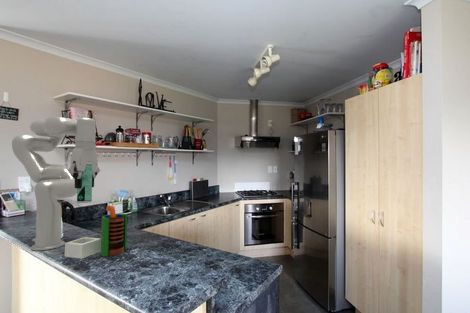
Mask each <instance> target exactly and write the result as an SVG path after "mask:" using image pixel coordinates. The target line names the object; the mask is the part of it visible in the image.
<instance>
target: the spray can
mask: <svg viewBox="0 0 470 313" xmlns="http://www.w3.org/2000/svg"><path fill="white" fill-rule="evenodd" d="M80 179H82V188H77V194H76V203H77V204H85V203H92V200H93V199H92V197H93V195H92V193H93V187H92V163H91V162H88V163H87V164H86V168H85V171H84V172H82V175H81V178H80Z"/></svg>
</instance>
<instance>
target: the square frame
mask: <svg viewBox="0 0 470 313" xmlns="http://www.w3.org/2000/svg"><path fill="white" fill-rule="evenodd" d="M97 253H101V238H98V237H90V236H89V237H87V236H85V237H80V238H76V239H75V240H71V241H67V242H65V244H64V257H65V258H74V259H84V258H87V257H90V256H92V255H95V254H97Z"/></svg>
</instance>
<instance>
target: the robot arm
mask: <svg viewBox="0 0 470 313" xmlns="http://www.w3.org/2000/svg"><path fill="white" fill-rule="evenodd" d="M96 126H97V124H96V120H95V119H93V118H91V117H78V118H76V119H75V118H69V117H64V116H63V117H62V116H48V117H47V118H39V119H35V120H33V121H32V122H31V123H30V127H29V128H30V131H31V132H32V133H33V134H30V133H29V134H28V133H23V134H18V135H15V136H14V137H12V138H13V139H12V142H11V147H12V148H11V149H12V152H13V154H14V156H15V157H16V159H17V160H18V161H19V162H20V163H21V164H22V165H23V167H24V168H25V171H26V172H27V174H28V176H29V178H30V179H31V180H32V182H33V183H36V184H35V186H34V189H33V190H34V197H35V202H36V219H35V221H36V222H35V224H36V225H35V227H36V228H35V238H32V240H31V241H32V242H34V244H33V245H32V246H31V247H30V249H31V250H32V251H36V252H37V251H38V252H39V251H48V250H53V249H57V248H61V247H63V246H65V243H66V242H65V241H64V240H62V214H63V212H62V205H61V204H60V202H58V199H66V198H73V197H74V196H77V188H82V179H80V178H81V175H82V172H84V171H85V168H86V164H87V163H88V162H91V163H92V188H94V187H95V179H96V177H97V175H98V174H99V173H100V172H101V169H100V167H99V166H98V153H97V150H96V148H97V144H96V134H97V133H96V130H97V128H96ZM65 136H69V137H72V136H73V137H74V138H75V139H74V140H75V141H74V142H75V144H74V145H75V146H74V147H75V148H73V149H72V151H71V152H72V153H71V157H70V166H69V168H68V167H67V166H65V165H63V164H55V163H53V164H51V163H47V161H46V160H45V159H44V157H43V156H42V155H40V154H39V153H41V152H43V153H49V152H52V151H53V152H54V150H55V149H56V148H57V147H58V145H59V144H60V143H61V142H62V141H63V139H64V137H65ZM37 152H39V153H37Z"/></svg>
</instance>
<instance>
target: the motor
mask: <svg viewBox="0 0 470 313" xmlns="http://www.w3.org/2000/svg"><path fill="white" fill-rule="evenodd" d="M105 211H106V212H109V214H105V215H103V216H101V230H100V232H101V233H100V234H101V235H100V236H101V238H100V239H101V251H100V256H102V257H110V256H117V255H120V254H123V253H124V251H126V250H127V235H128V234H127V232H128V214H125V213H116V209H115V206H114V205H107V206H106V207H105Z"/></svg>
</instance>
